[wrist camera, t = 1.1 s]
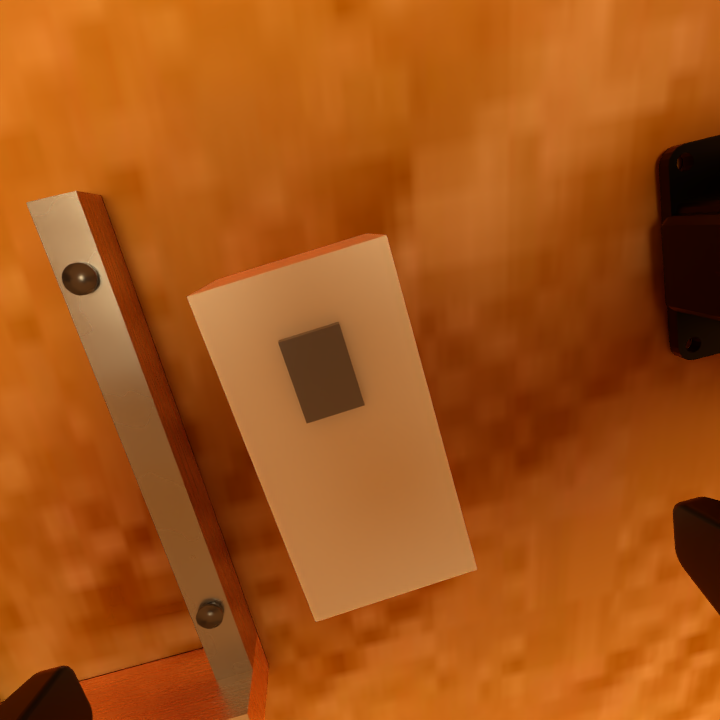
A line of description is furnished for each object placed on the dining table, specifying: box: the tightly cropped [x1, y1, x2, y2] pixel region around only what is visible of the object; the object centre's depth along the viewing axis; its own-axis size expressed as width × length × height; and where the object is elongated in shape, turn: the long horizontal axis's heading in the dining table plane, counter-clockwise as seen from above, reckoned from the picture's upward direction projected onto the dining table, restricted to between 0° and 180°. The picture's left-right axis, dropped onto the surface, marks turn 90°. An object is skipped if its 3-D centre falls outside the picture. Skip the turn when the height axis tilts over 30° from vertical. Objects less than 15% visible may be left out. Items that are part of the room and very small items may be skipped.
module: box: [187, 233, 477, 622], centre depth 14 cm, size 4×9×4 cm, turn 17°
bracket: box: [0, 191, 269, 720], centre depth 14 cm, size 10×16×3 cm, turn 14°
